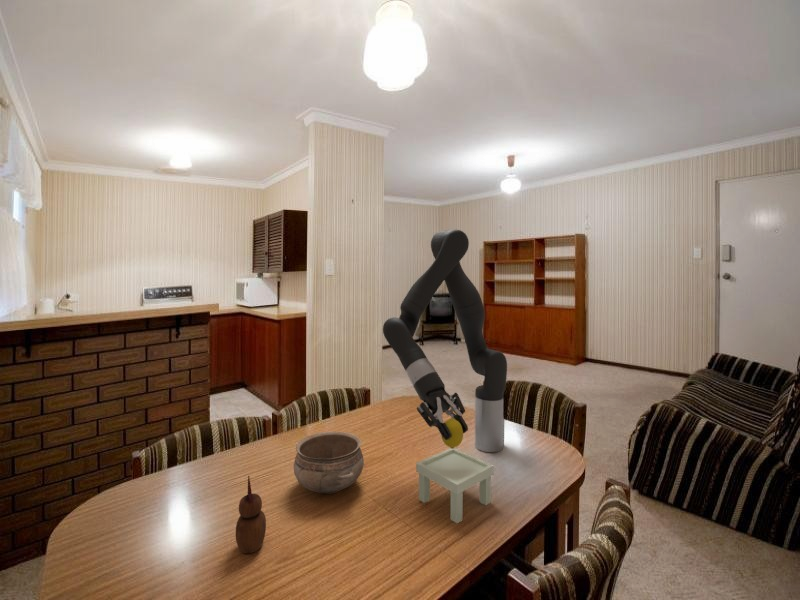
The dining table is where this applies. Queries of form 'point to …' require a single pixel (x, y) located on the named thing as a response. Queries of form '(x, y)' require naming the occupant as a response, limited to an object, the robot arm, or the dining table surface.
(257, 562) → the dining table surface
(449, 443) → the lemon
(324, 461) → the cooking pot
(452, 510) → the stool
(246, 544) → the wooden figurine
